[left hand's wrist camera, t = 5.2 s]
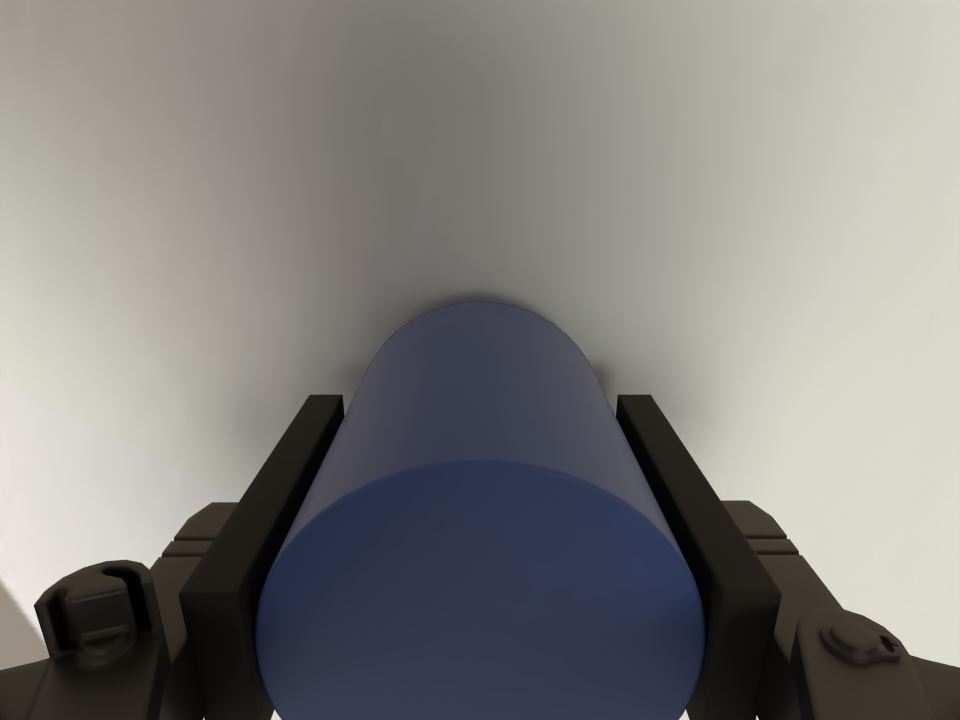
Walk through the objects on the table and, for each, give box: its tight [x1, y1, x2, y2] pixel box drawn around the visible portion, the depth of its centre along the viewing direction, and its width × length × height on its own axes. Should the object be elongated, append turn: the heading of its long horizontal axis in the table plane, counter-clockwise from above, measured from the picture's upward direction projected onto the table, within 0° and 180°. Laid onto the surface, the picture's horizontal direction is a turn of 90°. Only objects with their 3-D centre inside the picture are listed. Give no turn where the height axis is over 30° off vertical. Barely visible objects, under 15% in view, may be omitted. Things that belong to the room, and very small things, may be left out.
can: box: [255, 302, 706, 720], centre depth 12 cm, size 6×6×8 cm
